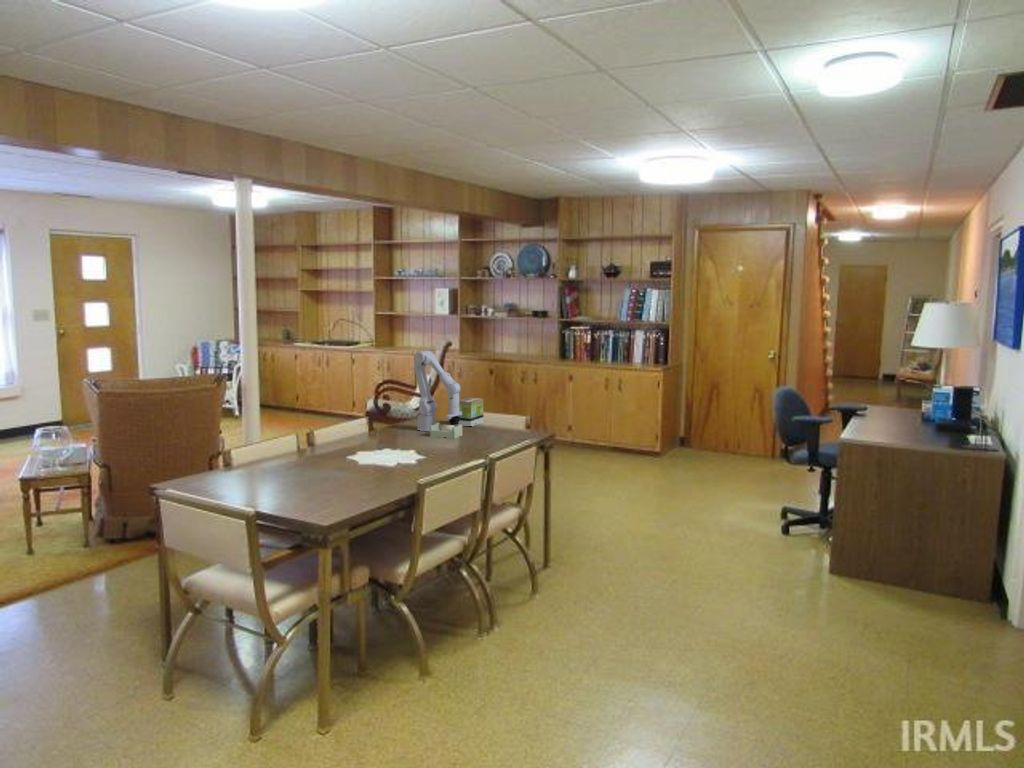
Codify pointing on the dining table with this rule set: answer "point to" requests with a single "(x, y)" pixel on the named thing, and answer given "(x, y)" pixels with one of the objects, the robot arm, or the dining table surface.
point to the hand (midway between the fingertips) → (454, 430)
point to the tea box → (471, 411)
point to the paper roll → (447, 427)
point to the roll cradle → (448, 434)
